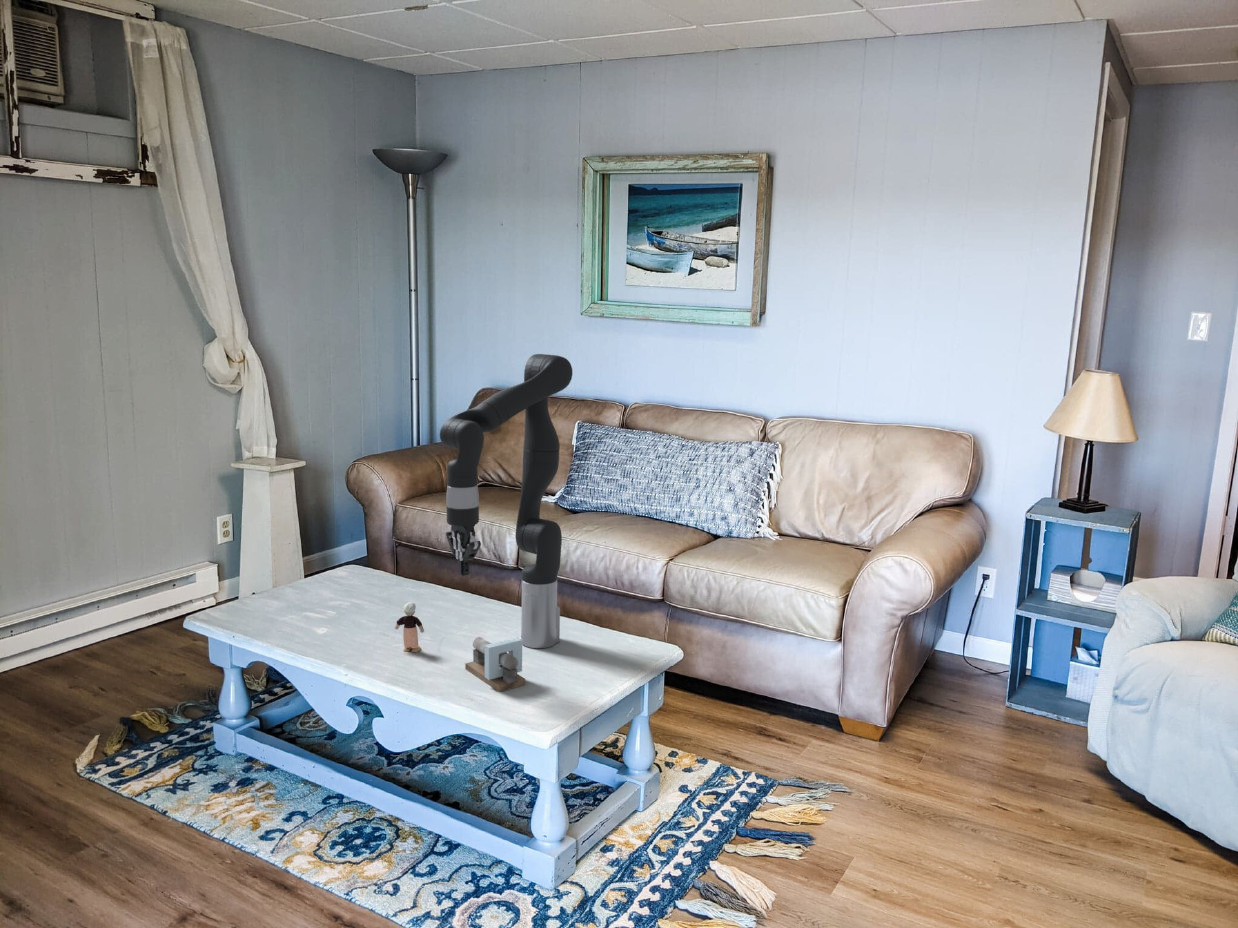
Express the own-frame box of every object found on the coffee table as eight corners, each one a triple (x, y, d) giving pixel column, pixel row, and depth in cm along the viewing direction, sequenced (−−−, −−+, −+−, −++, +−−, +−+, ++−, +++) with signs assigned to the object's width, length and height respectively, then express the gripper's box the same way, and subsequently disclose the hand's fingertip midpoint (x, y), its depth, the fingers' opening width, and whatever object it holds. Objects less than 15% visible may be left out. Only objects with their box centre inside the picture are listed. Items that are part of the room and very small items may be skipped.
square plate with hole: (517, 668, 225) (517, 637, 224) (522, 671, 224) (522, 639, 222) (484, 676, 220) (484, 645, 219) (488, 679, 218) (489, 647, 217)
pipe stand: (490, 662, 234) (490, 633, 232) (525, 684, 221) (525, 654, 220) (464, 668, 230) (464, 639, 228) (499, 691, 217) (499, 660, 216)
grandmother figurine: (426, 647, 243) (425, 600, 241) (423, 652, 239) (423, 604, 237) (396, 646, 243) (395, 599, 240) (393, 652, 239) (392, 604, 237)
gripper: (491, 507, 219) (491, 578, 222) (462, 496, 229) (463, 565, 232) (462, 511, 214) (463, 584, 218) (434, 500, 224) (436, 570, 228)
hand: (463, 574), depth 225 cm, fingers closed
